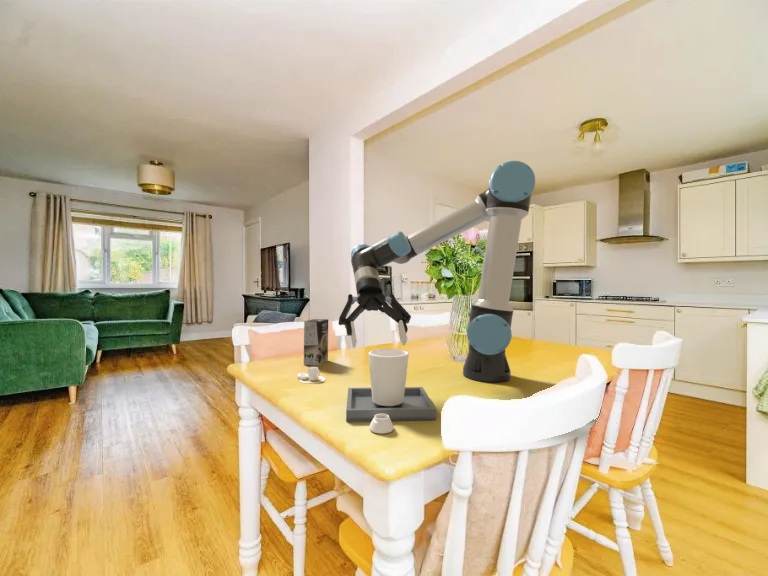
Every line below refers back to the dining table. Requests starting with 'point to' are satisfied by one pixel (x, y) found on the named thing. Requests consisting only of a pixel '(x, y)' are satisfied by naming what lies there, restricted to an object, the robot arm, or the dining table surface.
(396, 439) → the dining table surface
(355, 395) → the tray
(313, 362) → the coffee box
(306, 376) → the teacup and saucer
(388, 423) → the lidless jar
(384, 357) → the cup
